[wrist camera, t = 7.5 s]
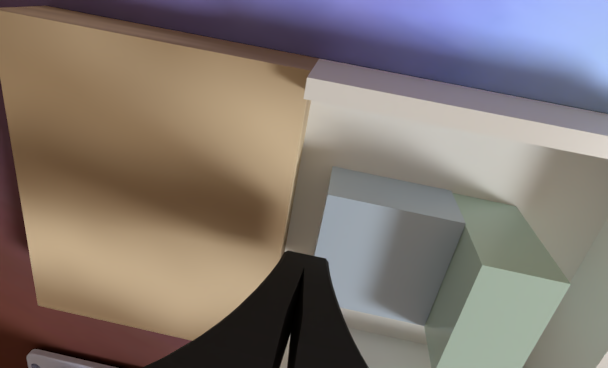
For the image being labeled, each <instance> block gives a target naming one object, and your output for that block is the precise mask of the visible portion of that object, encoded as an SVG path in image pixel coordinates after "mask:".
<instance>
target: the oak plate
mask: <svg viewBox="0 0 608 368" xmlns="http://www.w3.org/2000/svg"><path fill="white" fill-rule="evenodd" d="M318 60H319V58H314V57H309V56H304V55H299V54H294V53H289V52H283V51H278V50H273V49H268V48H263V47H257V46H252V45H247V44H242V43H237V42H231V41H226V40H221V39H216V38H211V37H206V36H200V35H195V34H190V33H185V32H180V31H174V30H169V29H164V28H159V27H154V26H148V25H143V24H138V23H133V22H128V21H122V20H117V19H112V18H107V17H102V16H97V15H91V14H86V13H81V12H76V11H71V10H65V9H60V8H55V7H50V6H29V7H5V8H0V80H1V86H2V92H3V98H4V104H5V110H6V116H7V122H8V128H9V134H10V140H11V146H12V152H13V158H14V164H15V170H16V176H17V182H18V188H19V194H20V200H21V206H22V212H23V218H24V224H25V230H26V236H27V242H28V248H29V254H30V260H31V266H32V272H33V278H34V284H35V290H36V296H37V302H38V306H42V307H47V308H51V309H56V310H60V311H64V312H69V313H73V314H78V315H82V316H86V317H91V318H95V319H100V320H104V321H108V322H113V323H117V324H121V325H126V326H130V327H135V328H139V329H143V330H148V331H152V332H157V333H161V334H165V335H170V336H174V337H179V338H183V339H187V340H192V341H193V340H194V339H196V338H198V337H199V336H201V335H202V334H204V333H205V332H206V331H208V330H209V329H210V328H212V327H213V326H215V325H216V324H217V323H219V322H220V321H221V320H223V319H224V318H225V317H226V316H228V315H229V314H230V313H231V312H232V311H233V310H235V309H236V308H237V307H238V306H239V305H240V304H241V303H242V302H243V301H244V300H245V299H246V298H247V297H248V296H249V295H250V294H252V293H253V292H254V291H255V290H256V288H257V287H258V286H259V285H260V284H261V283H262V282H263V281H264V279H265V278H266V277H267V276H268V275H269V274H270V272H271V271H272V270H273V269H274V267H275V266H276V265H277V263H278V262H279V260H280V259H281V257H282V255H283V253H284V252H285V247H286V241H287V236H288V230H289V224H290V218H291V213H292V207H293V201H294V196H295V190H296V184H297V178H298V173H299V167H300V161H301V156H302V150H303V144H304V139H305V133H306V127H307V121H308V116H309V110H310V104H311V100H306V99H304V93H305V87H306V81H307V77H308V75H309V74H310V72H311V70H312V69H313V67H314V66H315V64H316V63H317V61H318Z"/></svg>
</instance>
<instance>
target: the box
mask: <svg viewBox="0 0 608 368" xmlns="http://www.w3.org/2000/svg"><path fill="white" fill-rule="evenodd" d="M304 99H306V100H311V104H310V110H309V116H308V121H307V127H306V133H305V139H304V144H303V150H302V156H301V161H300V167H299V173H298V178H297V184H296V190H295V196H294V201H293V207H292V213H291V218H290V224H289V230H288V236H287V241H286V247H285V252H286V251H288V250H289V251H293V252H298V253H303V254H307V255H312V256H313V255H314V250H315V246H316V241H317V236H318V232H319V227H320V222H321V218H322V213H323V208H324V204H325V199H326V195H327V190H328V185H329V181H330V176H331V171H332V167H333V166H334V167H339V168H344V169H349V170H353V171H358V172H363V173H368V174H373V175H378V176H383V177H387V178H392V179H397V180H402V181H407V182H412V183H417V184H422V185H426V186H431V187H436V188H441V189H446V190H451V191H452V193H455V194H460V195H465V196H470V197H474V198H479V199H484V200H489V201H493V202H498V203H503V204H508V205H513V206H516V207H517V208H518V210H519V211H520V212H521V214H522V215H523V217H524V218H525V220H526V221H527V222H528V224H529V225H530V227H531V228H532V230H533V231H534V232H535V234H536V235H537V237H538V238H539V239H540V241H541V242H542V244H543V245H544V247H545V248H546V249H547V251H548V252H549V254H550V255H551V257H552V258H553V259H554V261H555V262H556V264H557V265H558V267H559V268H560V269H561V271H562V272H563V274H564V275H565V277H566V278H567V279H568V281H569V282H570V284H571V285H570V287H569V288H568V290H567V292H566V294H565V295H564V297H563V299H562V300H561V302H560V304H559V306H558V307H557V309H556V311H555V312H554V314H553V316H552V318H551V319H550V321H549V323H548V324H547V326H546V328H545V330H544V331H543V333H542V335H541V336H540V338H539V340H538V342H537V343H536V345H535V347H534V349H533V350H532V352H531V354H530V355H529V357H528V359H527V361H526V362H525V364H524V366H523V367H522V368H608V114H605V113H600V112H595V111H589V110H584V109H579V108H574V107H569V106H563V105H558V104H553V103H548V102H543V101H538V100H532V99H527V98H522V97H517V96H512V95H506V94H501V93H496V92H491V91H486V90H480V89H475V88H470V87H465V86H460V85H455V84H449V83H444V82H439V81H434V80H429V79H423V78H418V77H413V76H408V75H403V74H397V73H392V72H387V71H382V70H377V69H372V68H366V67H361V66H356V65H351V64H346V63H340V62H335V61H330V60H325V59H320V58H319V60H318V61H317V63H316V64H315V66H314V67H313V69H312V70H311V72H310V74H309V75H308V77H307V81H306V87H305V93H304ZM340 309H341V312H342V315H343V317H344V320H345V322H346V324H347V327H348V329H349V331H350V333H351V336H352V338H353V340H354V342H355V344H356V346H357V348H358V349H359V351H360V353H361V355H362V357H363V359H364V360H365V362H366V364H367V366H368V367H369V368H431V363H430V357H429V351H428V345H427V340H426V334H425V328H424V326H422V325H417V324H413V323H408V322H404V321H399V320H395V319H390V318H386V317H381V316H377V315H372V314H367V313H363V312H358V311H354V310H349V309H345V308H340ZM290 334H291V333H290ZM289 344H290V337H289V340H288V343H287V346H286V349H285V353H284V356H283V359H282V362H281V365H280V368H287V363H288V353H289Z"/></svg>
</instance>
